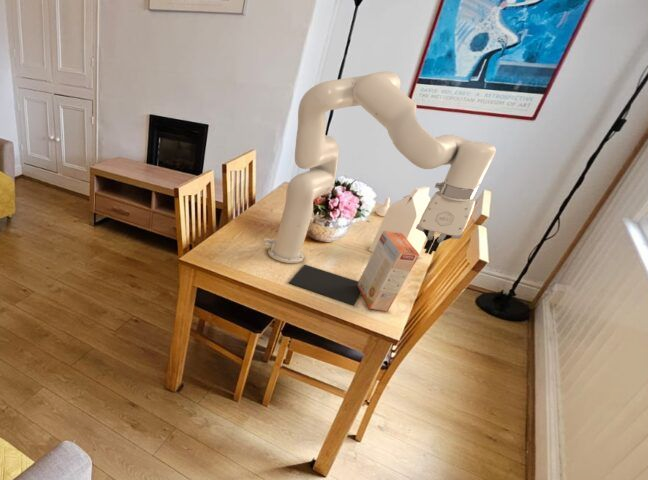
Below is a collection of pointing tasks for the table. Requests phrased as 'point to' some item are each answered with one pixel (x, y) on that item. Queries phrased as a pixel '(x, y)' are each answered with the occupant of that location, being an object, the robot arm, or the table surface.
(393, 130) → the robot arm
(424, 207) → the milk
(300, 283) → the mat
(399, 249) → the cracker box
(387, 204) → the garlic bulb
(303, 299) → the table surface
